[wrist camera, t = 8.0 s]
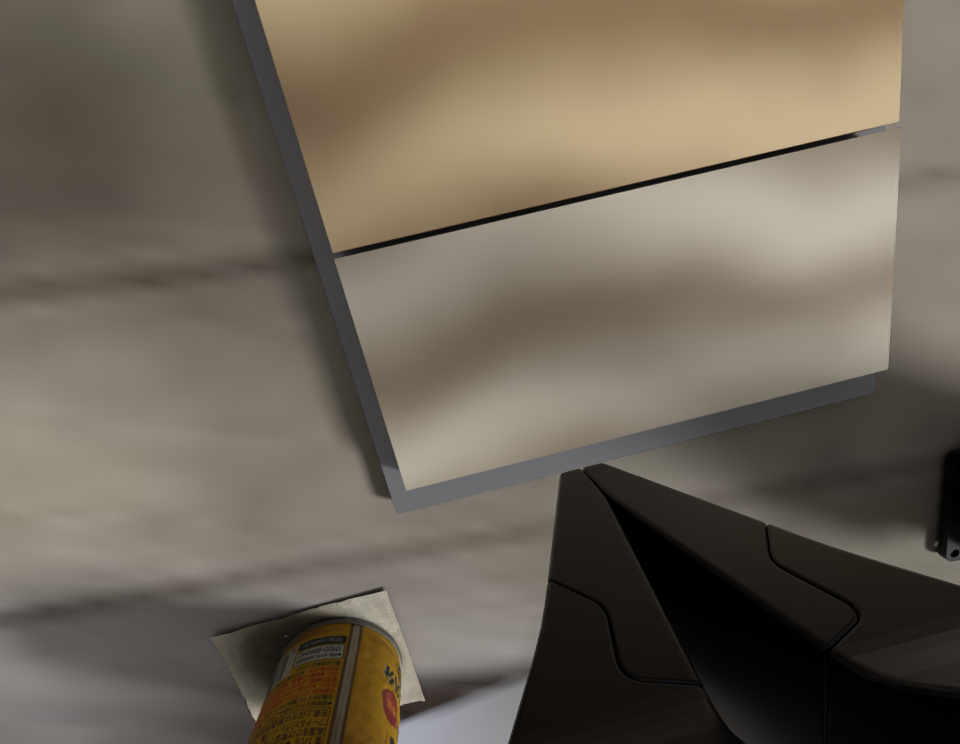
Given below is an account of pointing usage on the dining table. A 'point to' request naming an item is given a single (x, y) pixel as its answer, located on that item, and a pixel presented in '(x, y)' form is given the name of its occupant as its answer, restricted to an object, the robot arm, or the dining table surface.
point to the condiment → (324, 674)
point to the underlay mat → (325, 256)
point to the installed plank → (560, 96)
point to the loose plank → (630, 308)
